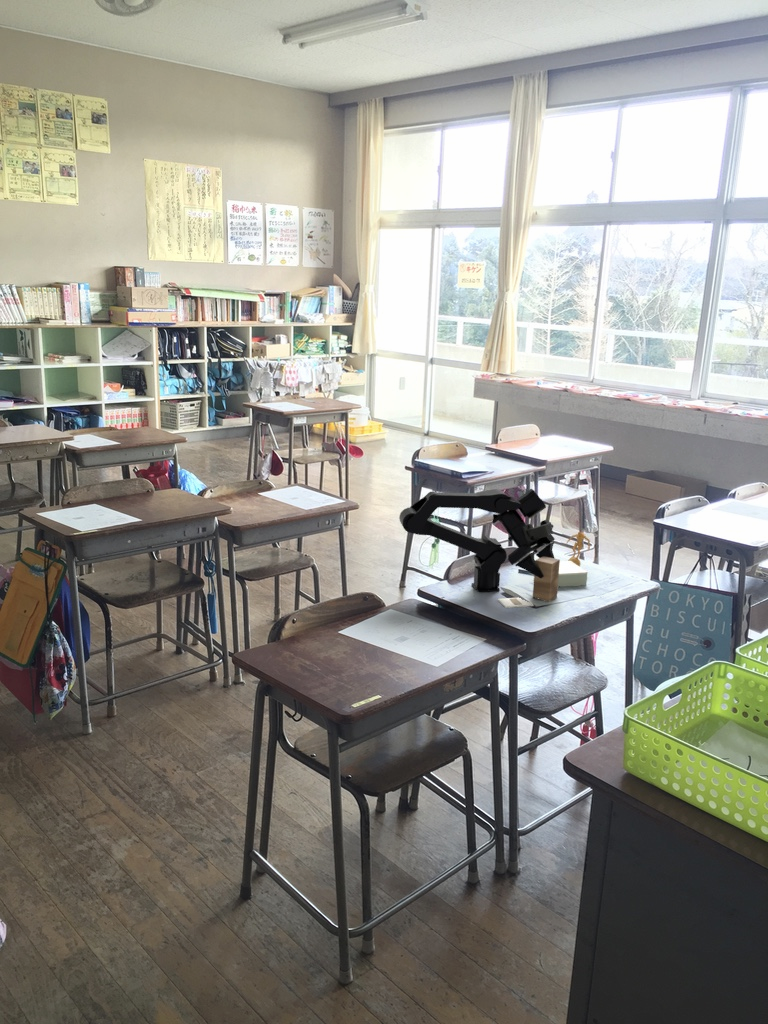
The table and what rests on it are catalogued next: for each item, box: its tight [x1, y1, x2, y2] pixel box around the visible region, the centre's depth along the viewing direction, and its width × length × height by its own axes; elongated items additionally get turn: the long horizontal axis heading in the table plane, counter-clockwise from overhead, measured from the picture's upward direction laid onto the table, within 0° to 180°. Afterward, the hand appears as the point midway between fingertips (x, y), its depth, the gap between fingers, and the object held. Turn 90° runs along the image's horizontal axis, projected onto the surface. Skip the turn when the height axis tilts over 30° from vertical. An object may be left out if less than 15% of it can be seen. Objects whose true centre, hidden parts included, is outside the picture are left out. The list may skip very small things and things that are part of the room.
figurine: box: [565, 531, 591, 567], centre depth 252 cm, size 8×6×12 cm
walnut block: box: [532, 556, 561, 602], centre depth 227 cm, size 5×5×11 cm
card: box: [497, 597, 534, 609], centre depth 223 cm, size 8×6×1 cm
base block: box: [558, 560, 588, 588], centre depth 243 cm, size 11×11×4 cm
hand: (549, 573), depth 226 cm, fingers open, 9 cm apart
